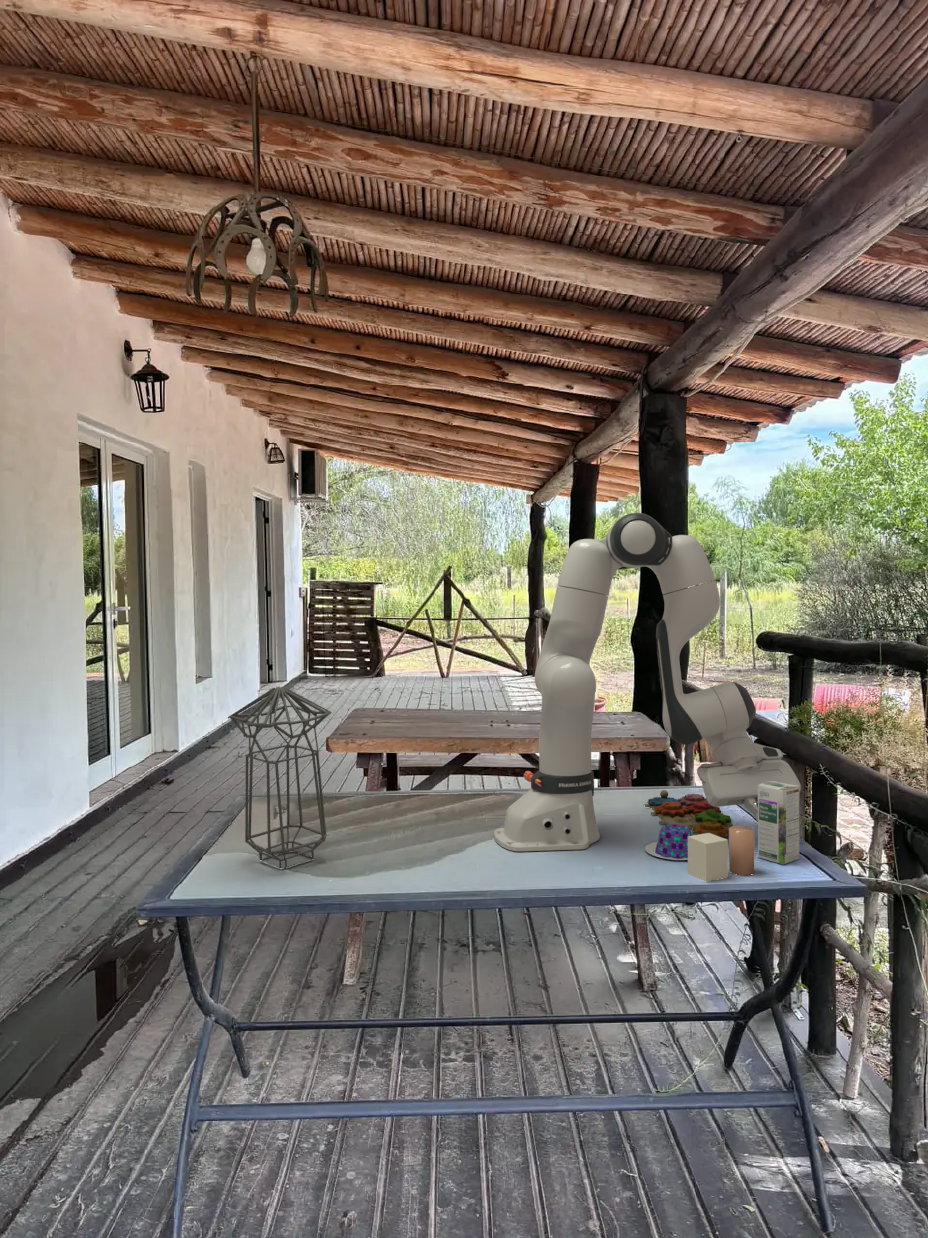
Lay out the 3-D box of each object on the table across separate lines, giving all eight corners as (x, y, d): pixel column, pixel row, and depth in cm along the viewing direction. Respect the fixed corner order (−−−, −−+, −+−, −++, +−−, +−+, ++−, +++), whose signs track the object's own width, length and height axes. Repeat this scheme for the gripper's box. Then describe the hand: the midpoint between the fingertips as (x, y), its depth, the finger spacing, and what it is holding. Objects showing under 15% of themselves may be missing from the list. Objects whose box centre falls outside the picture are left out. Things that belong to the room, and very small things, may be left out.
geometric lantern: (341, 860, 164) (335, 685, 162) (272, 883, 153) (264, 695, 151) (297, 843, 175) (291, 679, 173) (229, 863, 164) (222, 688, 162)
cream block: (706, 882, 148) (705, 844, 148) (687, 874, 153) (687, 836, 152) (728, 878, 150) (727, 840, 150) (709, 869, 155) (709, 832, 154)
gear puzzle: (751, 842, 172) (751, 822, 172) (674, 843, 172) (674, 824, 172) (705, 803, 204) (705, 787, 203) (640, 804, 203) (640, 788, 203)
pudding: (646, 862, 160) (646, 835, 160) (643, 843, 172) (643, 818, 172) (711, 864, 158) (710, 837, 158) (702, 845, 170) (702, 820, 170)
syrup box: (756, 858, 161) (756, 784, 160) (774, 851, 164) (773, 779, 164) (783, 865, 156) (782, 789, 155) (800, 859, 160) (800, 784, 159)
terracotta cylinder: (738, 877, 150) (737, 833, 150) (724, 869, 155) (724, 827, 154) (759, 874, 151) (759, 831, 151) (745, 867, 156) (745, 825, 155)
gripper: (699, 756, 168) (726, 816, 159) (787, 749, 173) (818, 807, 164) (688, 773, 173) (714, 832, 164) (774, 765, 178) (803, 823, 169)
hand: (767, 819), depth 164 cm, fingers closed
